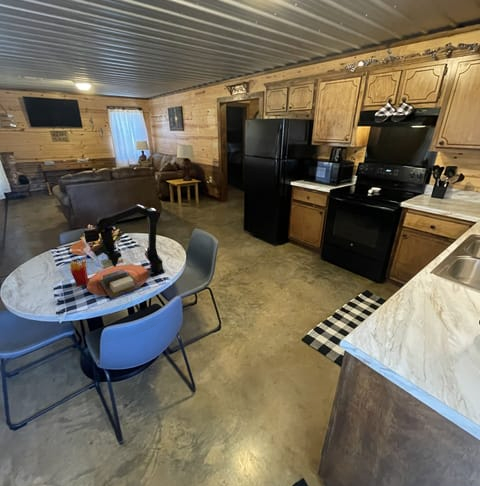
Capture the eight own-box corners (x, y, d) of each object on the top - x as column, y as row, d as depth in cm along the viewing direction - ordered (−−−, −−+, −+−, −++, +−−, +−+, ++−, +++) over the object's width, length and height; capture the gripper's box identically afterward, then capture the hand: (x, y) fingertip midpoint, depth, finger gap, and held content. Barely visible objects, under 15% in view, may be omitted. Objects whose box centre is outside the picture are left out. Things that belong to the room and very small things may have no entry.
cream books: (130, 281, 149) (129, 275, 148) (134, 285, 145) (133, 280, 144) (110, 288, 143) (108, 282, 141) (113, 293, 139) (112, 287, 137)
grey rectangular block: (125, 273, 157) (123, 268, 156) (127, 277, 153) (126, 271, 152) (103, 280, 150) (102, 275, 148) (106, 284, 146) (104, 278, 145)
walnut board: (127, 272, 160) (126, 271, 160) (141, 288, 145) (140, 286, 145) (99, 282, 151) (98, 280, 150) (110, 299, 135) (110, 297, 135)
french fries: (76, 281, 152) (70, 258, 146) (92, 278, 154) (87, 255, 149) (74, 289, 144) (67, 265, 138) (91, 286, 147) (84, 262, 141)
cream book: (120, 258, 152) (119, 255, 151) (123, 262, 148) (123, 258, 147) (101, 264, 146) (100, 260, 145) (104, 268, 142) (103, 264, 141)
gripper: (86, 237, 143) (93, 263, 149) (95, 248, 130) (102, 275, 136) (108, 232, 149) (113, 257, 155) (119, 242, 136) (124, 269, 142)
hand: (113, 264), depth 147 cm, fingers closed on cream book, 6 cm apart
